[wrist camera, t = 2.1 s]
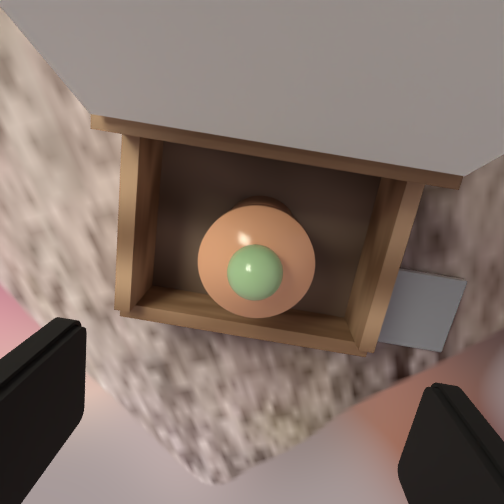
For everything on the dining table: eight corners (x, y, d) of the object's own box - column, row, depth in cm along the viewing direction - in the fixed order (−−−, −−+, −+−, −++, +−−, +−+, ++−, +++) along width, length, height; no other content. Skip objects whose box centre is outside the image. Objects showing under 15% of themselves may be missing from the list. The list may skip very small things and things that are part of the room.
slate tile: (383, 265, 26) (386, 268, 25) (463, 278, 26) (467, 281, 25) (363, 335, 28) (365, 339, 27) (437, 347, 28) (441, 352, 27)
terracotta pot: (223, 182, 24) (194, 205, 15) (310, 197, 24) (335, 229, 15) (212, 265, 26) (180, 331, 17) (293, 279, 26) (306, 352, 17)
